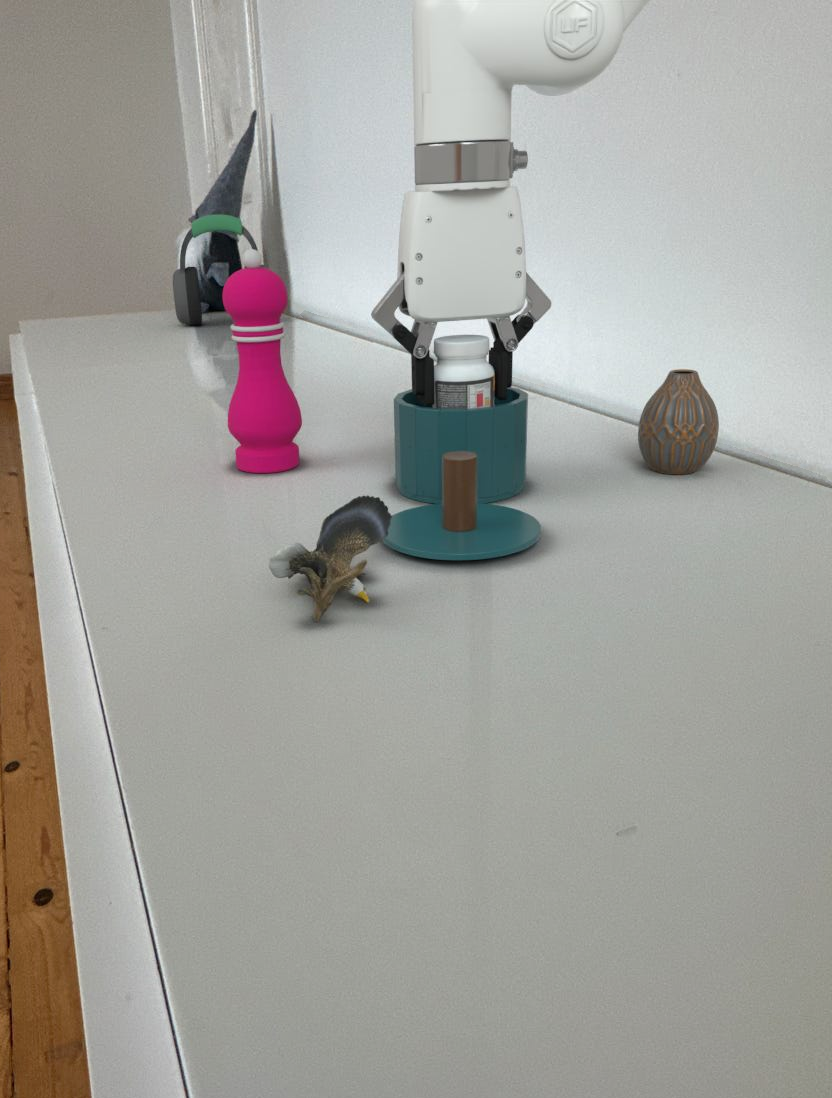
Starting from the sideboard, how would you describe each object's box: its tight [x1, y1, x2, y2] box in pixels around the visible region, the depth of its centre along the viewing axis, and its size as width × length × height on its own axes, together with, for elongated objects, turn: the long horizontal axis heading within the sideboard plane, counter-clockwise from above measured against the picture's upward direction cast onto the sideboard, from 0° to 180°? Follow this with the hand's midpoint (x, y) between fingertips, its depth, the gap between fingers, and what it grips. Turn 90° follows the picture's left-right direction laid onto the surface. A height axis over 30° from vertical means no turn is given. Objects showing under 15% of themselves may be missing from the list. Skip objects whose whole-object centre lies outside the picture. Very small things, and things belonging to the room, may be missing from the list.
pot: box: [393, 386, 529, 504], centre depth 88 cm, size 11×11×8 cm
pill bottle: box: [430, 334, 495, 409], centre depth 86 cm, size 6×6×10 cm
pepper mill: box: [222, 248, 303, 474], centre depth 95 cm, size 7×7×20 cm
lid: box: [381, 451, 542, 561], centre depth 75 cm, size 12×12×7 cm
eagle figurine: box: [268, 495, 392, 623], centre depth 66 cm, size 8×7×9 cm
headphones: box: [172, 213, 269, 326], centre depth 195 cm, size 19×11×20 cm, turn 97°
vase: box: [637, 368, 720, 475], centre depth 90 cm, size 7×7×9 cm
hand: (461, 398), depth 86 cm, fingers closed on pill bottle, 5 cm apart
